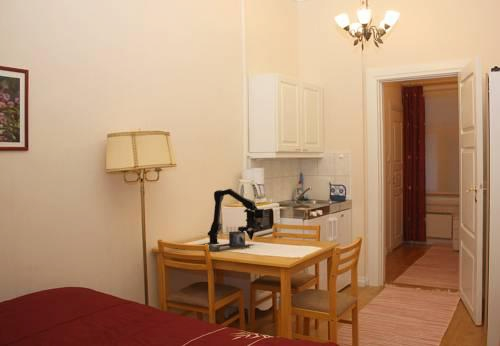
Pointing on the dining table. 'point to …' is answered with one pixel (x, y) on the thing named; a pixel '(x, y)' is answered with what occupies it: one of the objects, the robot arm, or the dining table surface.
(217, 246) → the guide channel
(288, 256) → the dining table surface
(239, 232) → the small box
